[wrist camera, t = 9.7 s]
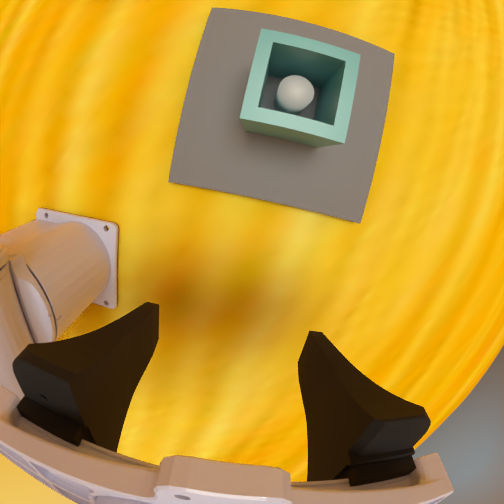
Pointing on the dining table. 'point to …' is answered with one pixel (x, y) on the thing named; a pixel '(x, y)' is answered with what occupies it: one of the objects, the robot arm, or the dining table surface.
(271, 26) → the stub board
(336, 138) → the sleeve
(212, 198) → the dining table surface
